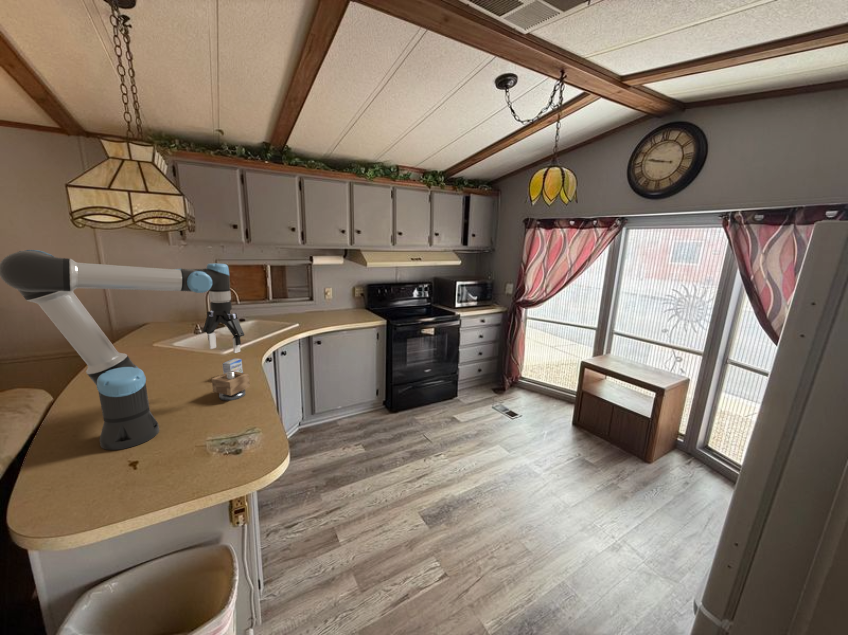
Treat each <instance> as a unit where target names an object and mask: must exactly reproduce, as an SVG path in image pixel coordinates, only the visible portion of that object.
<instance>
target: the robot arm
mask: <svg viewBox="0 0 848 635" xmlns="http://www.w3.org/2000/svg"><path fill="white" fill-rule="evenodd" d="M0 279H1V280H2V281H3V282H4V283H5V284H6V285H8V286H9V287H11V288H13V289H14V290H17V292H19V293H20V295H21V296H22V297H23V298H24V300H26V302H31V303H33V304H34V303H35V304H37V305H38V306H39V307H40V309H41V310H42V311H43V312H44V314H46V316H47V317H48V318H49V320H50V321H51V322H52V323H53V324H54V326H55V327H56V328H57V330H58V331H59V332H60V333H61V334H62V335H63V337H64V338H65V339H66V341H67V342H68V343H69V344H70V346H71V347H72V348H73V349H74V351H76V353H77V354H78V356H80V358H81V359H82V360H83V361H84V363H85V364H86V365H87V368H86V371H85V374H87V376H88V377H89V378H90V379H91V381H92V382H93V383H94V384H95V386H96V389H97V391H98V397H99V403H100V407H101V412H102V417H103V418H102V420H103V426H102V429H101V432H100V436H99V443H100V447H101V449H103V450H106V451H107V450H109V451H119V450H124V449H130V448H132V447H136V446H138V445H141V444H144V443H146V442H149V441H150V440H152V439H153V438H154V437H156V436H157V435H158V434H159V433H160V426H159V422H158V421H157V419H156V418H155V416H154V414H152V412H151V409H150V402H149V396H148V391H147V382H146V381H147V378H146V375H145V372H144V371H143V370H142V369H141V368H139V367H138V366H137V365H135V363H133V361H132V360H131V358H130V357H129V356H128V354H127V353H124V352H123V353H122V352H119V351H118V350H117V349H116V347H115V346H114V344H113V343H112V342H111V341H110V339H109V338H108V336H107V335H106V334H105V332H104V331H103V330H102V329H101V327H100V326H99V325H98V323H97V322H96V320H95V319H94V317H93V316H92V315H91V314H90V313H89V311H88V310H87V308H86V307H85V306H84V304H83V303H82V302H81V300H80V299H79V298H78V297H77V295H76V293H75V292H74V291H75V290H77V289H95V290H97V289H100V290H132V291H133V290H135V291H163V292H164V291H167V292H188V293H189V292H194V293H196V294H203V293H209V301H210V304H209V305H210V310H209V311H207V312H206V319H205V322H204V326H203V328H202V331H203V332H204V333H206V334H207V340H208V345H209V346H208V348H209V349H210V350H212V349H216V348H217V338H216V331H215V330H216V328H217V327H218V326H219V324H222V325H224V326H226V327H227V329H228V330H229V332H230V333H231V335H232V336H233V337H232V346H233V347H232V349H233V353H234V354H237V353H240V352H241V344H242V342H241V337H244V336H245V333H244V330H243V328H242V326H241V323H240V321H239V319H238V314H237V313H231V310H232V309H233V306H232V295H231V283H230V282H231V281H230V270H229V265H227V264H226V263H219V262H218V263H217V262H216V263H215V262H214V263H213V262H212V263H207V264H206V268H174V269H173V268H171V269H170V268H160V267H158V268H156V267H148V266H147V267H144V266H131V265H130V266H129V265H115V264H101V263H85V262H77V261H75V260H74V259H72V258H67V257H57V256H54V255H53V254H50V253H47V252H46V251H42V250H36V249H26V250H19V251H17V252H13V253H11V254H8V255H7V256H4V258H2V260H1V261H0Z"/></svg>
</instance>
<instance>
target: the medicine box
mask: <svg viewBox="0 0 848 635" xmlns="http://www.w3.org/2000/svg"><path fill="white" fill-rule="evenodd" d="M242 362H243V361H242V358H232V359H230V360H227V361H225V362H223V363H222V371H223V372H222V375H223V374H225V373H226V372H228V371H235V372H240V373H244V371H243V363H242Z"/></svg>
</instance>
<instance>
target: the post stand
mask: <svg viewBox="0 0 848 635" xmlns="http://www.w3.org/2000/svg"><path fill="white" fill-rule="evenodd" d="M226 373H227V379H228V380H231V379H234V378H235V373H234V371H228V372H226ZM245 395H246V389H244V390H242V391H240V392H238V393H236V394H234V395H231V396H230V395H225V394H221V393H218V397H219V398H218V399H220V400H221V401H227V402H229V401H235V400H240V399H241V398H243V397H245Z"/></svg>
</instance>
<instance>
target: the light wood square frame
mask: <svg viewBox="0 0 848 635" xmlns="http://www.w3.org/2000/svg"><path fill="white" fill-rule="evenodd" d="M234 373H235V378H234V379H231V380H228V379H227V373H225V374H223V373H222V374H220V375H218V376H215V377H213V378H211V384H212V392H213V393H216V394H220V393H221V394H225V395H230V396H231V395H234V394H236V393H238V392H240V391H242V390H244V389H245V390H246V389H248V388H250V387H251V382H250V381H251V380H250V374H249V373H245V372H243V373H240V372H235V371H234Z"/></svg>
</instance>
